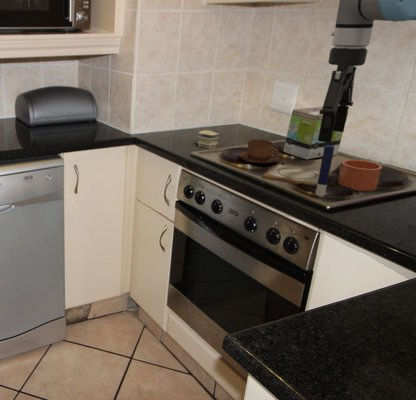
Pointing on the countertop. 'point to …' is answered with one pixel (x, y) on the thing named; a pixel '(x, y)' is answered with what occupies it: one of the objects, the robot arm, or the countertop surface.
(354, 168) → the pen cup
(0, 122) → the countertop surface
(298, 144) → the tea box
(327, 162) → the marker
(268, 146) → the cup and saucer
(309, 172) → the tan flat square slab
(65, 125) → the countertop surface
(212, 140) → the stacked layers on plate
